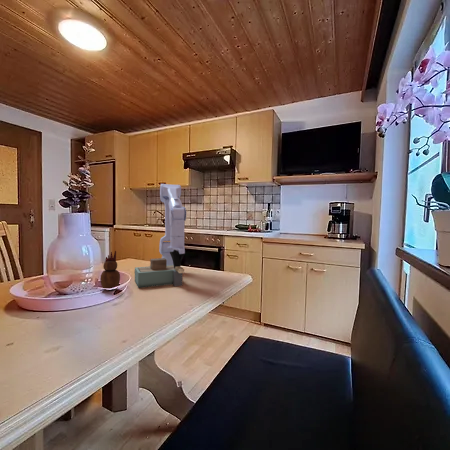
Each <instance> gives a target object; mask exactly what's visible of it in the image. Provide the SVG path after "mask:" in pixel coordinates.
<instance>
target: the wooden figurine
mask: <svg viewBox="0 0 450 450" xmlns="http://www.w3.org/2000/svg"><path fill="white" fill-rule="evenodd" d="M117 268H118V263H117V251H116V250H115V251H114V254H113V253H112V251H111V252H110V255H109V254H108V255H107V256H106V257H105V259H104V263H103V271H102V273H101V274H100V279H99V280H100V285H101V287H102V289H103V288H112V287H115V286H118V287H119V284H120V280H121V273H120V272H119V270H117Z"/></svg>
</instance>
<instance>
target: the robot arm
mask: <svg viewBox="0 0 450 450" xmlns="http://www.w3.org/2000/svg"><path fill="white" fill-rule="evenodd" d="M159 186H160V187H159V199H160V201H161V202H162V203H163V204H164V214H165V215H164V225H165V226H164V227H165V228H164V230H165V231H164V236H162V237H160V240H159V247H158V249H159V254H160V255H161V258H165V259H166V260H167V265H174V269H175V267H176V266H180V267H182V266H181V265H182V261H183V259H184V257H185V254H186V250H185V248H186V247H185V225H186V224H185V222H186V221H187V220H186V219H187V209H186V207H185V206H183V203H182V200H181V199H180V198H181V196H182V185H180V184H170V183H169V184H167V183H160V185H159Z"/></svg>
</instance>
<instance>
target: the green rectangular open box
mask: <svg viewBox="0 0 450 450" xmlns="http://www.w3.org/2000/svg"><path fill="white" fill-rule="evenodd" d="M167 266H172V265H167ZM144 267H145V266H140V267H134V282H135V283H134V284H135V285H136V287H137V288H138V289H141V288H152V287H160V286H161V287H163V286H168V285H169V286H171V285H173V287H181V286H183V273H178V272H177V271H176V270H163V271H150V272H140V271H139V269H138V268H144Z"/></svg>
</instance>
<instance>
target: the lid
mask: <svg viewBox="0 0 450 450" xmlns="http://www.w3.org/2000/svg"><path fill="white" fill-rule="evenodd" d="M149 261H150V265H149V266H143V267H144V268H138V269H139V271H140V272H150V271H163V270H175V269H174V265H172V266H167V260H166V259H165V258H162V257H161V258H150V260H149Z"/></svg>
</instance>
